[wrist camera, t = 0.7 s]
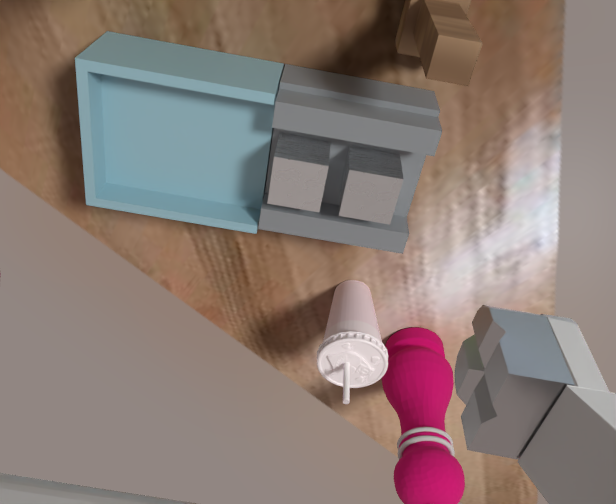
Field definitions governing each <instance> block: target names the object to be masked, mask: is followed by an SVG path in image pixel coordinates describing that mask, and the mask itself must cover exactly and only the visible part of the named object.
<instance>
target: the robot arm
mask: <svg viewBox="0 0 616 504" xmlns="http://www.w3.org/2000/svg"><path fill="white" fill-rule="evenodd" d="M0 275H1V273H0ZM472 325H473V329H474V333H475V335H473V336H471V337H470V338H468V339H466V340H465V341H463V343H462V346H461V348H460V351H459V353H458V355H457V361H456V366H455V387H456V393H457V396H458V397H459V398H460V399H461V400H462V401H463V402H464V403H465V404H466V407H465V409H464V411H463V413H462V415H461V419H462V424H463V429H464V435H465V440H466V445H467V450H471V451H476V452H481V453H486V454H492V455H497V456H502V457H507V458H513V459H518V463H519V465H520V466H521V467H522V469H523V470H524V471H525V473H526V474H527V475H528V477H529V478H530V479H531V481H532V482H533V483H534V485H535V486H536V487H537V489H538V490H539V491H540V493H541V494H542V495H543V497H544V498H545V499H546V501H547V502H548V503H549V504H616V393H612V392H609V390H608V388H607V386H606V384H605V382H604V379H603V377H602V375H601V373H600V371H599V369H598V367H597V365H596V362H595V360H594V359H593V356H592V354H591V352H590V350H589V348H588V346H587V343H586V341H585V340H584V337H583V335H582V333H581V331H580V329H579V327H578V325H577V323H576V322H575V321H573V320H572V319H571V318H565V317H558V316H552V315H545V314H541V315H538V314H533V313H527V312H521V311H515V310H509V309H503V308H498V307H492V306H486V305H482V307H481V308H480V309H479V310H478V311H477V313H476V315H475V317H474V319H473V321H472ZM0 504H196V503H189V502H183V501H176V500H170V499H164V498H157V497H150V496H145V495H138V494H132V493H125V492H118V491H112V490H106V489H99V488H93V487H87V486H80V485H73V484H67V483H61V482H54V481H48V480H41V479H35V478H28V477H22V476H16V475H9V474H3V473H0Z"/></svg>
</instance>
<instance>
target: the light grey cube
mask: <svg viewBox="0 0 616 504" xmlns="http://www.w3.org/2000/svg"><path fill="white" fill-rule="evenodd" d="M330 144H331V142H328V141H322V140H316V139H311V138H305V137H300V136H294V135H288V134H283V133H280V134H279V138H278V142H277V146H276V150H275V154H274V160H273V167H272V174H271V181H270V188H269V195H268V202H267V204H273V205H279V206H285V207H291V208H296V209H302V210H308V211H314V212H319V211H320V207H321V202H322V197H323V192H324V187H325V182H326V178H327V173H328V168H329V157H330Z"/></svg>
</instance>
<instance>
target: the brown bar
mask: <svg viewBox="0 0 616 504" xmlns="http://www.w3.org/2000/svg"><path fill="white" fill-rule="evenodd" d="M470 3H471V0H405V3H404V7H403V11H402V15H401V19H400V23H399V27H398V31H397V35H396V39H395V43H396V48H397V53H399V54H405V55H410V56H415V57H420V59H421V62H422V66H423V69H424V73H425V76H426V79H432V80H437V81H443V82H448V83H454V84H459V85H464V86H468V85H469V82H470V79H471V76H472V73H473V70H474V67H475V64H476V61H477V58H478V55H479V52H480V49H481V46H482V41H481V40H480V38H479V36H478V35H477V33H476V31H475V30H474V28H473V26H472V24H471V23H470V21H469V19H468V18H467V12H468V9H469V6H470Z"/></svg>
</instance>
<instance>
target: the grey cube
mask: <svg viewBox="0 0 616 504" xmlns="http://www.w3.org/2000/svg"><path fill="white" fill-rule="evenodd" d="M403 180H404V179H403V172H402V165H401V158H400V154H395V153H389V152H384V151H378V150H373V149H367V148H361V147H356V146H349V150H348V155H347V159H346V164H345V168H344V173H343V177H342V181H341V186H340V194H339V216H343V217H349V218H354V219H360V220H366V221H372V222H378V223H383V224H389V225H390V223H391V220H392V217H393V213H394V210H395V207H396V203H397V200H398V196H399V193H400V190H401V186H402V183H403Z"/></svg>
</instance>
